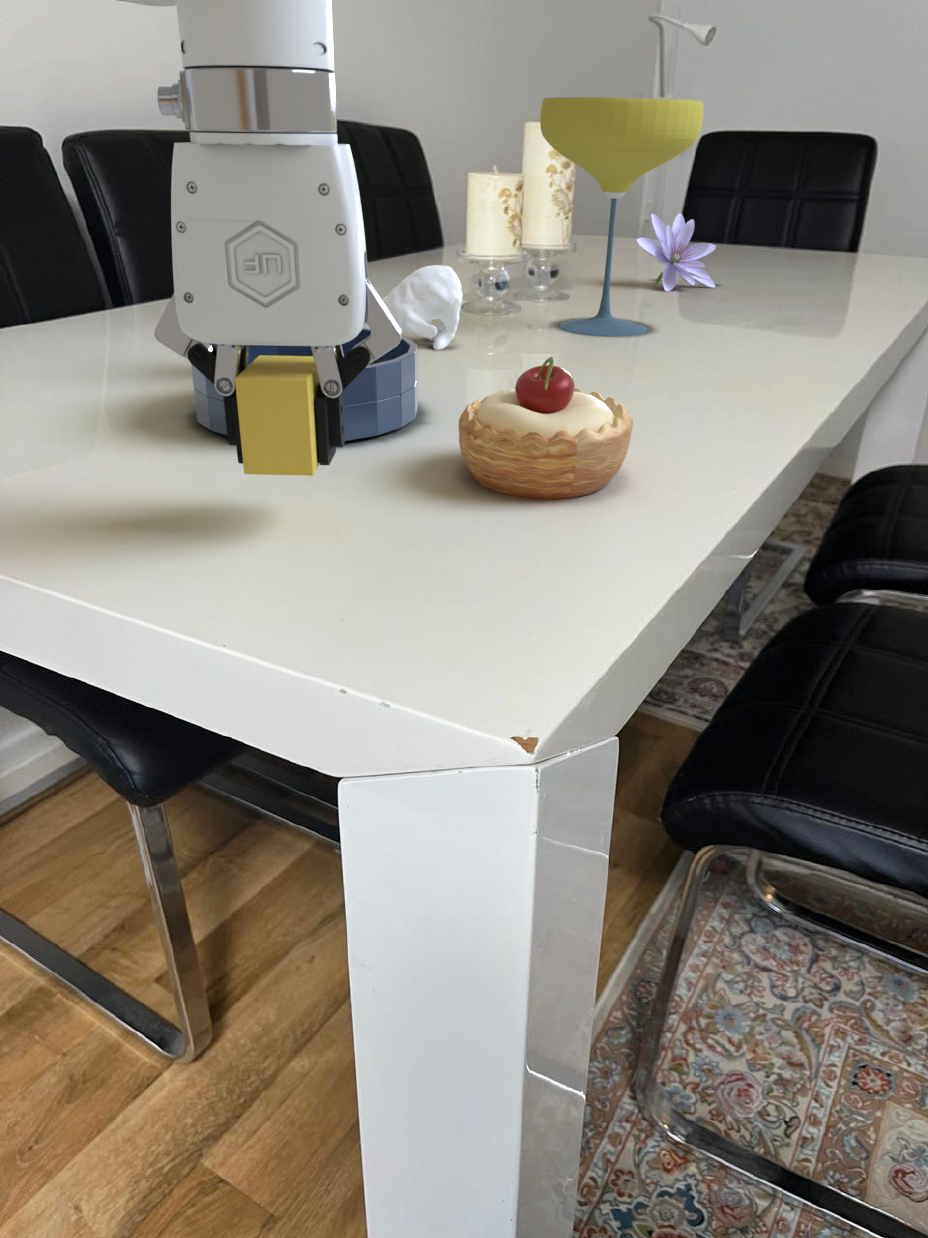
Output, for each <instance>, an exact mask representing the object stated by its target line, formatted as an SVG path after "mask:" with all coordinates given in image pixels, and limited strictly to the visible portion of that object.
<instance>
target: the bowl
mask: <svg viewBox="0 0 928 1238" xmlns="http://www.w3.org/2000/svg"><path fill="white" fill-rule="evenodd" d="M370 334H371V330H370V329H369V328H362V331H361V332H360V333H359V334H358V336H357V337H355V338H354V339H353V340H351V341H349V342H347V343H344V344H341V345H342V349H343V353H344V356H345V355H346V354H347V353H348V352H349V351H350V350H351V348H352V347H353V346H354V345H356V344H357V343H359V342H361V341H362V340H364V339H365V338H366V337H368V336H369V335H370ZM214 345H215V346H216V347H217V344H214ZM259 355H265V356H313V353H312V349H311V346H271V345H249V354H248V364H247V367H248V366H249V365H250V364H251V363H252V362H253V361H254V360H255V359H256V358H257V357H258V356H259ZM418 365H419V364H418V344H416V343H415V342H414V341H413V340H412V339H411V338H409V337H406V336H404V335H402V339H401V341H400V343H399V345H398V346H396V347H395V348H393V349H392V350H390V351H389V352H387V353H386V354H384V355H383V356H381V357H380V358H378V359H377V360H375V361H373V362H372V363H370V364H369V365H367V366H366V368H365V369H364V370H363V371H362V372H361V373H360V374H359V375H358V376H357V377H356V378H355V379H354V380H353V381H352V382H351V383H350V384H349V385H348V386H347V387H346V388H345V389H344V390H343V402H344V423H345V442H347V441H353V440H359V439H365V438H371V437H376V436H380V435H383V434H385V433H388V432H392V431H395V430H399V429H401V428H403V427H405V426H406V425H408V424H409V423H411V422H413V421H414V420H415V419H416V416H417V412H418V409H419V408H418V407H419V405H418V404H419V403H418V402H419V401H418V400H419V399H418V396H419V394H418V393H419V391H418V389H419V388H418V387H419V386H418V383H419V381H418V375H419V373H418ZM190 368H191V370H190V371H191V378H192V387H193V396H194V406H195V415H196V420H197V423H199V425H200V424H201V426H203V427H204V428H207V429H208V430H209V431H210V432H211V431H212V432H214V433H217V434H221V435H224V436H227V429H226V419H225V409H224V399H223V395H220V394H219V393H218V392H217V391H216V390H215V387H214V384H213V383H212V382H211V381H210V380H208V379H207V378H206V377H205V376H204V375H203V374H202V373H201V372H200V371H199V370H198V369H197V368H196V367H194V366H193V365H192V364H191V363H190Z"/></svg>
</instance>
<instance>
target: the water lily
mask: <svg viewBox="0 0 928 1238" xmlns="http://www.w3.org/2000/svg"><path fill="white" fill-rule="evenodd" d="M650 217H651V218H650V219H651V223H652V229H653V232H654V235H655V237H656V239H657V242H658V243H657V242H656V241H654V240H653V239H650V238H649V237H639V238H637V239H636V243H637V244H638V245H639V246H640V248H641V249H642V250H643V251H644V252H645V253H646V254H648V256H649V255H650V256H651V257H653V259H656V260H657V261H658V262H659V263H661V264H663V265H664V266H663V269H662V271H661V272H660V273H659V275H658V276H657V278H656V279H655V283H657V284H658V283H660V282H662V283H661V284H662V287H663V289H664V291H665V292H671V291H672V290H673V289H674V288H675V287H676V285H677V282H678V281H677V280H678V276H679V277H680V278H681V279H682V280H683V281H684V282H686V283H687V284H690V285H691V286H695V284H696V282H697V283H699V284H701V285H703V286H706V287H710V288H712V289H713V288H716V285H715V282H714V281H713V279H712V277H710V275H709V274H708V273H707V272H706V271H705V270H704V269H702V268H705V267H706V264H705V263H704V262H702V261H699V259H701V258H704V257H706V256H708V255H710V254H711V253H713V252H714V251H715V250H716V248H717V245H715V244H713V243H710V242H708V243H707V242H698V243H694V244H689V243H690V241H691V239H692V236H693V235H694V232H695V225H696V224H695V220H694V219H693V218H691V219H689V220H688V221H686V220H685V218H684V215H683V214H682V213H681V212H680V213H678V214H677V215H676V217H674V220H673V222H672V226H670V225H669V224H667V225H665V223H664V221H662V219H661V218H660V217H659V216H658V215H656V214H655V213H651V215H650Z"/></svg>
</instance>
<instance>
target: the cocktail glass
mask: <svg viewBox="0 0 928 1238" xmlns="http://www.w3.org/2000/svg"><path fill="white" fill-rule="evenodd" d="M539 122H540V131H541V134H542V137H543V138H544V140H545V141H546V142H547V143H548V144H549V146H551V147H552V149H554V150H555V151H556V152H557V153H558V154H560V155H561V156H563V157H564V158H566V159H567V160H569V161H570V162H571V163H573V164H575V165H576V166H578V167H579V168H581V169H583V170H584V171H585V172H587V174H589V175H590V176H592V177H593V179H595V181H596V182H597V184H598V185H599V187H600V189H601V191H602V192H603V194H604V195H605V197H606V198H608V199H610V211H609V223H608V234H607V235H608V237H607V245H606V256H605V267H604V277H603V286H602V292H601V293H602V294H601V299H600V304H599V308H598V311H597V313H596V315H595V316H592V317H589V318H579V319H571V320H567V321H563V322H561V323H559V325H558V326H559V328H560V329H561V330H563V331H566V332H569V333H573V334H579V335H583V336H584V335H585V336H597V337H629V336H630V337H631V336H637V335H641V334H642V335H643V334H645V333H647V332H648V328H647V327H646V326H644V325H642V324H640V323H636V322H632V321H629V320H623V319H618V318H617V317H616V318H615V317H614V316H613V315H612V313H611V302H610V301H611V300H610V296H611V295H610V293H611V292H610V289H611V275H612V274H611V273H612V259H613V246H614V233H615V222H616V212H617V211H616V210H617V201H618V199H621V198H623V196H625V195H626V193H627V192H628V191H629V190H630V188H631V187H632V185H633V184H634V183H635V182H636V181H637V180H638V179H640V178H641V177H642V176H644V175H646V174H647V173H649V172H651V171H652V170H654V169H656V168H658V167H660V166H662V165H664V164H666V163H667V162H670V161H671V160H673V159H675V158H676V157H678V156H680V155H681V154H683V153H684V152H685V151H687V150H688V149H689V148H690V147H692V145H693V144H694V143H696V141H697V140H698V138H699V137H700V135H701V132H702V127H703V123H704V103H703V101H702V100H693V99H677V98H676V99H675V98H674V99H673V98H648V97H647V98H645V97H599V96H598V97H593V96H592V97H591V96H588V97H587V96H586V97H585V96H583V97H581V96H579V97H578V96H577V97H576V96H573V97H571V96H570V97H569V96H566V97H564V96H563V97H562V96H561V97H560V96H559V97H544V98H543V100H542V102H541V108H540V118H539Z"/></svg>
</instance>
